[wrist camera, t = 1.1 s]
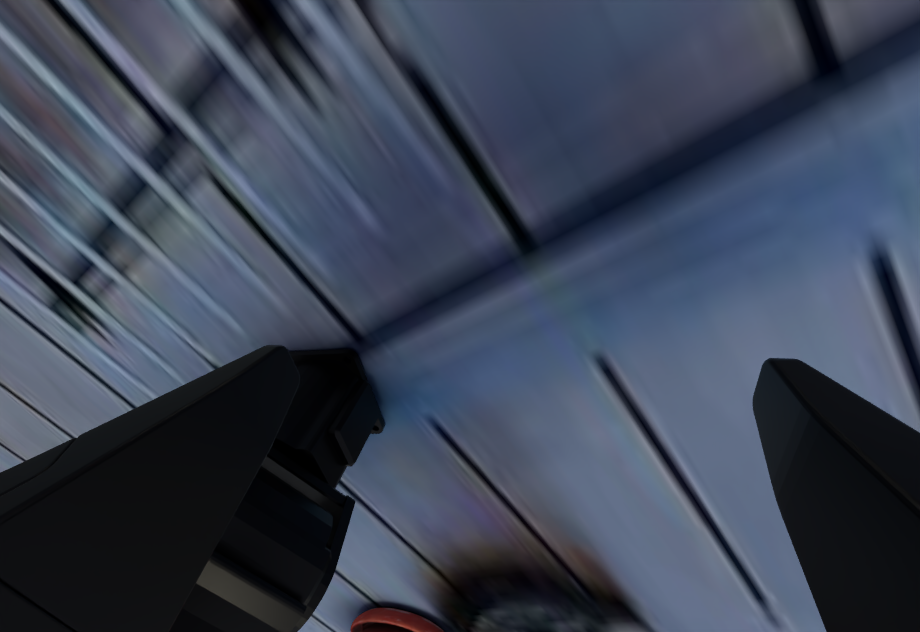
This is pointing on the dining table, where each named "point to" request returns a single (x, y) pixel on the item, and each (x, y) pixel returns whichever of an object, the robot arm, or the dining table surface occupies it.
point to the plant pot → (392, 622)
